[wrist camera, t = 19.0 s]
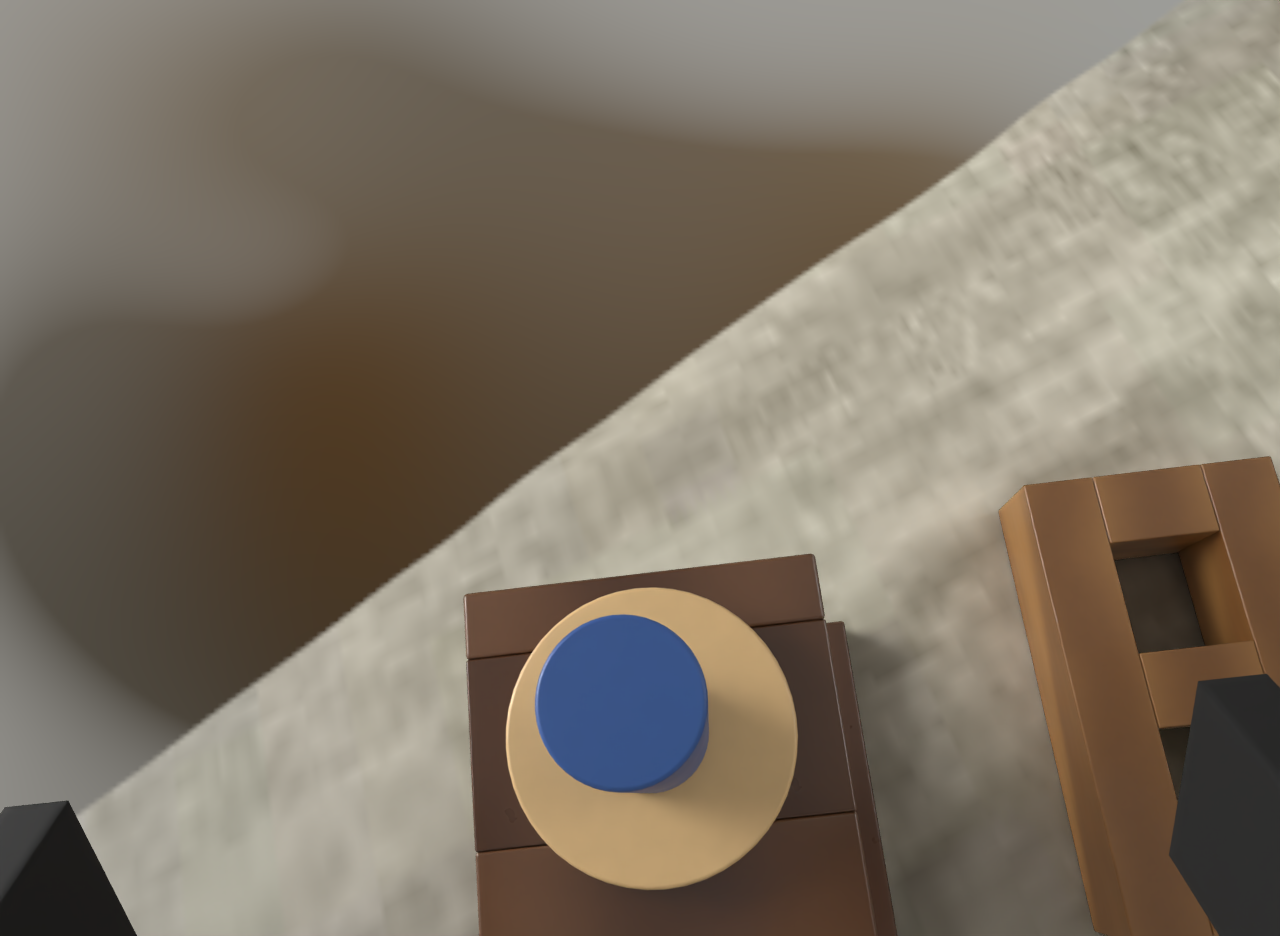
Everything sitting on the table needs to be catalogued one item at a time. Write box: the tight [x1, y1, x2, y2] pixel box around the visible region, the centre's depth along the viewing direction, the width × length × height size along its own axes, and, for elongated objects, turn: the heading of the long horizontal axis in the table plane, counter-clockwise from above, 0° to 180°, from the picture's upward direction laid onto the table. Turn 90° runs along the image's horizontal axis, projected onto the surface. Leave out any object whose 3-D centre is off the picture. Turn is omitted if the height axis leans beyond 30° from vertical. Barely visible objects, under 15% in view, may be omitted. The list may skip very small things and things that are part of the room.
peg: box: [506, 587, 798, 890], centre depth 21 cm, size 6×6×15 cm
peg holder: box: [999, 456, 1280, 936], centre depth 31 cm, size 8×13×3 cm, turn 6°
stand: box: [464, 554, 897, 936], centre depth 26 cm, size 12×12×12 cm
